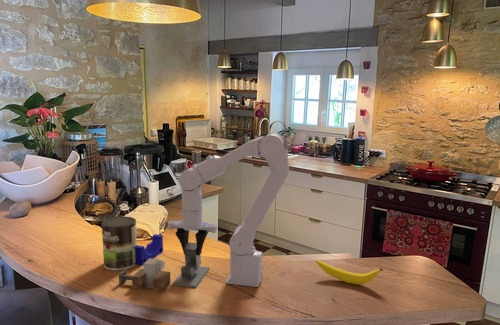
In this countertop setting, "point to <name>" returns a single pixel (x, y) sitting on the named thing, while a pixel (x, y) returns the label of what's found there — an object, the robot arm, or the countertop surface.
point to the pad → (195, 279)
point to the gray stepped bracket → (190, 260)
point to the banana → (348, 274)
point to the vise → (159, 280)
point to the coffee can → (119, 243)
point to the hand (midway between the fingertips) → (192, 253)
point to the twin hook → (152, 270)
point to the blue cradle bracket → (149, 250)
